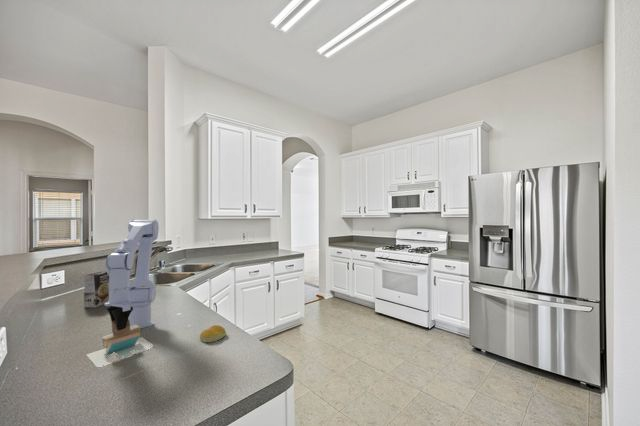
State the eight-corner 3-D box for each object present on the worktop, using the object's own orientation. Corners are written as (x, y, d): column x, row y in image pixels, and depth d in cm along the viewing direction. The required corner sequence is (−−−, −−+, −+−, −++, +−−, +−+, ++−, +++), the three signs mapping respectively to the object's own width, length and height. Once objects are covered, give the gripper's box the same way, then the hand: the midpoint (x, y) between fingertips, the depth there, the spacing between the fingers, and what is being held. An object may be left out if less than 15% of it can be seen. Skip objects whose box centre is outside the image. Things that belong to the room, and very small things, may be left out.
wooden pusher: (102, 345, 90) (100, 325, 89) (136, 332, 98) (134, 313, 97) (106, 348, 87) (104, 328, 87) (141, 335, 95) (139, 316, 95)
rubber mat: (86, 355, 87) (86, 354, 87) (141, 337, 100) (141, 336, 100) (97, 368, 79) (97, 368, 79) (156, 347, 92) (156, 347, 92)
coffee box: (96, 307, 132) (96, 275, 132) (83, 307, 132) (83, 275, 132) (110, 301, 141) (111, 271, 141) (98, 301, 141) (99, 271, 141)
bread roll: (195, 341, 97) (195, 330, 97) (213, 331, 106) (213, 321, 106) (212, 345, 94) (212, 334, 94) (230, 335, 103) (230, 324, 103)
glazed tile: (105, 350, 88) (110, 340, 85) (133, 341, 94) (138, 332, 91) (106, 354, 87) (111, 345, 84) (134, 345, 94) (140, 336, 91)
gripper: (98, 286, 93) (98, 326, 93) (112, 294, 84) (111, 337, 84) (122, 282, 99) (122, 319, 98) (137, 289, 90) (137, 329, 90)
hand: (119, 327), depth 92 cm, fingers closed on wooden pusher, 4 cm apart
